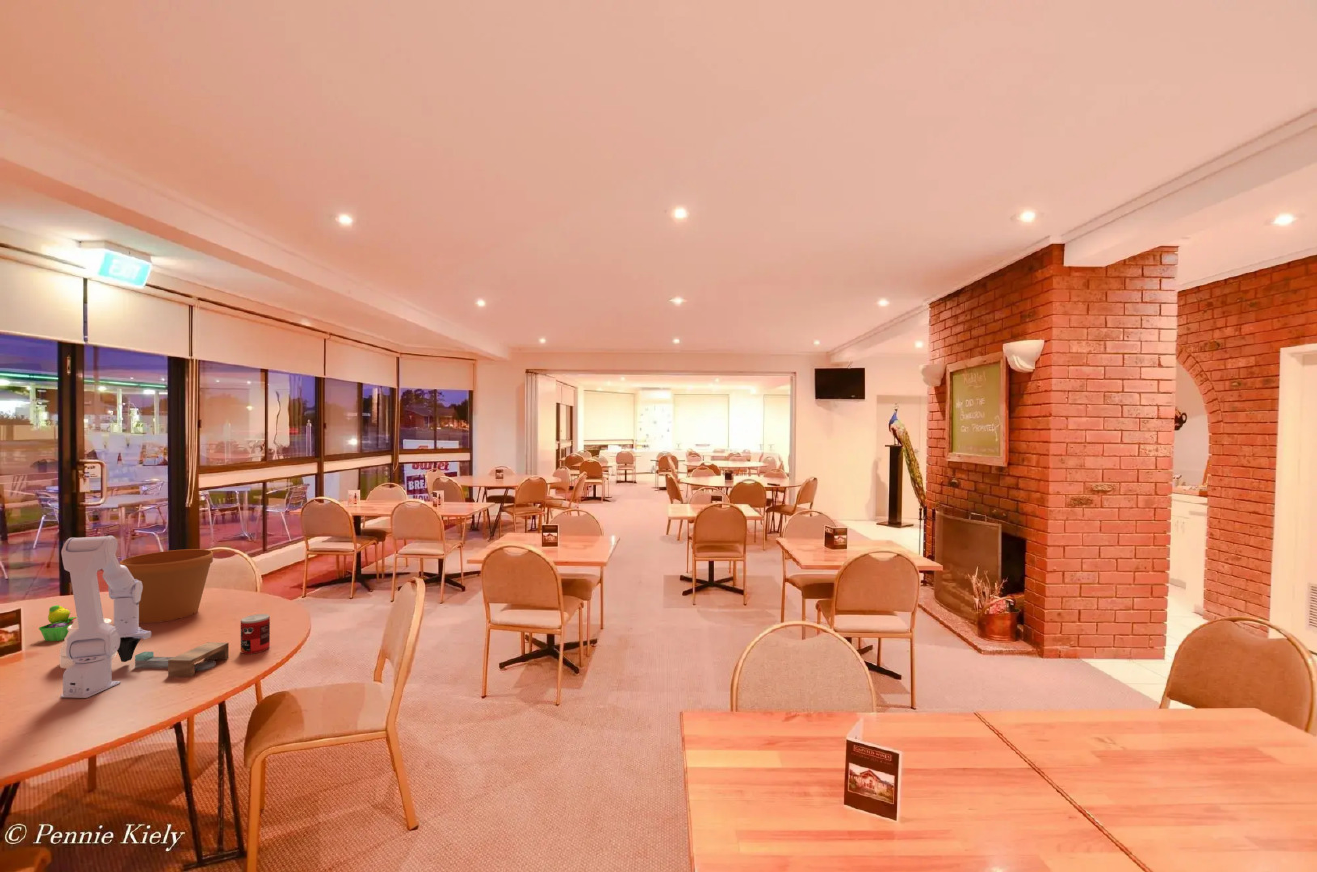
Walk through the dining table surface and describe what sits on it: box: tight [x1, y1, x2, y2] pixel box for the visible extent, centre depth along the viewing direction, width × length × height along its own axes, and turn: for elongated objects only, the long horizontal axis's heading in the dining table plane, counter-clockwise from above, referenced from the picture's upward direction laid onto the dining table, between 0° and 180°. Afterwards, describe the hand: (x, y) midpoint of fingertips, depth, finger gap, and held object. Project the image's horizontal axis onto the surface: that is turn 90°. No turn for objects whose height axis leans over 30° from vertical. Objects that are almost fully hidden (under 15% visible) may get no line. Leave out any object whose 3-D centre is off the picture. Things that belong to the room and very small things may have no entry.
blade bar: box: [134, 651, 175, 669], centre depth 174 cm, size 3×15×4 cm, turn 88°
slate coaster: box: [194, 660, 216, 672], centre depth 174 cm, size 6×6×1 cm
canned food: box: [240, 613, 271, 655], centre depth 188 cm, size 8×8×11 cm
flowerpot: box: [119, 548, 214, 624], centre depth 222 cm, size 28×28×24 cm
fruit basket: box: [38, 604, 77, 642], centre depth 199 cm, size 11×9×11 cm
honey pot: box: [59, 616, 118, 670], centre depth 179 cm, size 13×13×18 cm
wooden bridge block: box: [167, 641, 230, 678], centre depth 174 cm, size 14×7×5 cm, turn 177°
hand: (126, 660), depth 175 cm, fingers closed
